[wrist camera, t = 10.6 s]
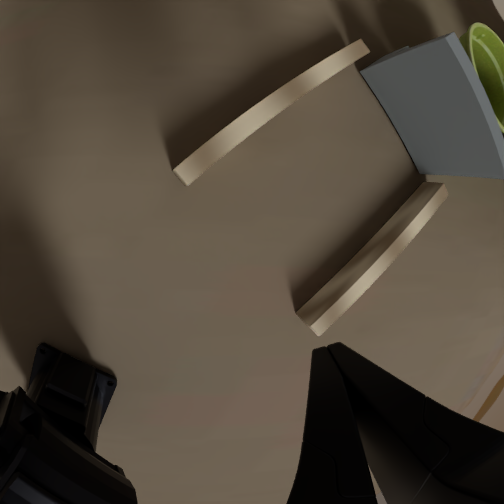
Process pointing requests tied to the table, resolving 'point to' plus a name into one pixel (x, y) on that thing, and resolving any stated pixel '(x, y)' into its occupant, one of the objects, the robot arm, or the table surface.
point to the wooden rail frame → (378, 247)
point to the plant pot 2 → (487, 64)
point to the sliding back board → (439, 108)
